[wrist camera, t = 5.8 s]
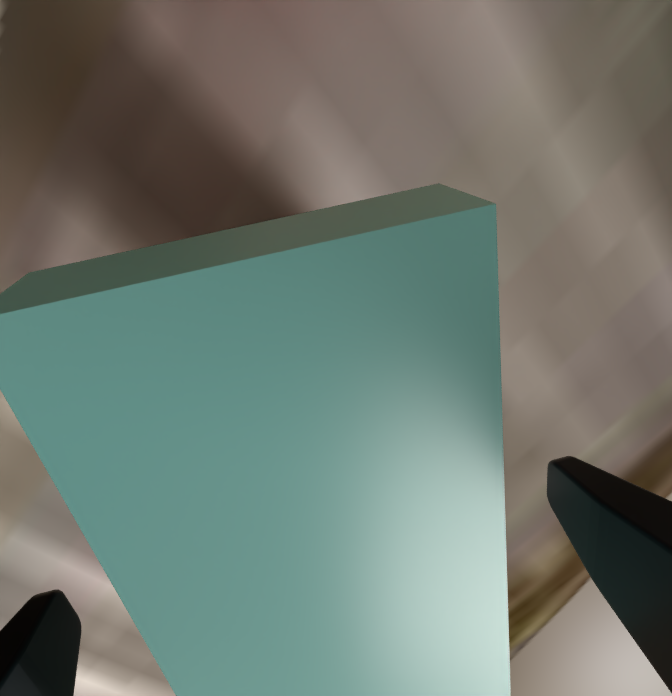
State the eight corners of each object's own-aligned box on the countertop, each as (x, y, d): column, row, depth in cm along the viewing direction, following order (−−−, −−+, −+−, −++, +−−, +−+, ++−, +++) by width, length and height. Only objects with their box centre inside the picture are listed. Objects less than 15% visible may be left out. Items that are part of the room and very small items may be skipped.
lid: (439, 183, 8) (496, 203, 6) (473, 615, 13) (510, 695, 11) (29, 272, 7) (-39, 322, 6) (228, 686, 12) (225, 781, 11)
